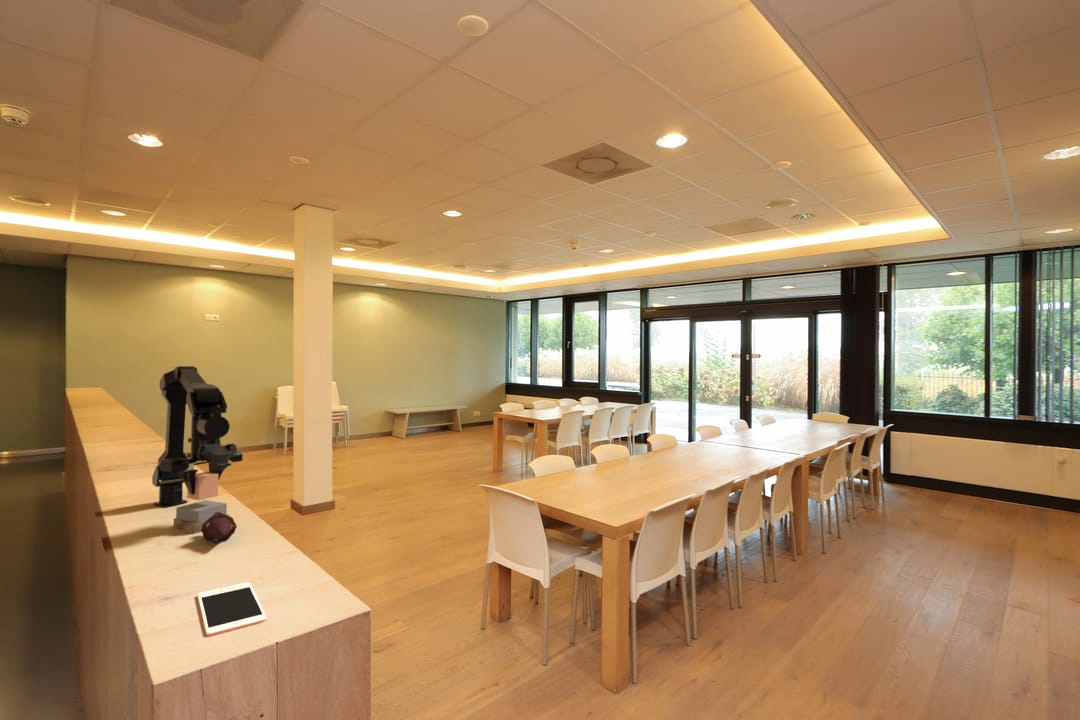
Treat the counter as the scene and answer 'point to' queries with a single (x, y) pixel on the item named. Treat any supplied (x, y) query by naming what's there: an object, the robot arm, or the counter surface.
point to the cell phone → (230, 608)
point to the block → (205, 486)
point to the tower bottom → (188, 526)
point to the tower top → (200, 511)
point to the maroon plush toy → (218, 528)
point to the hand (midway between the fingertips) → (202, 492)
